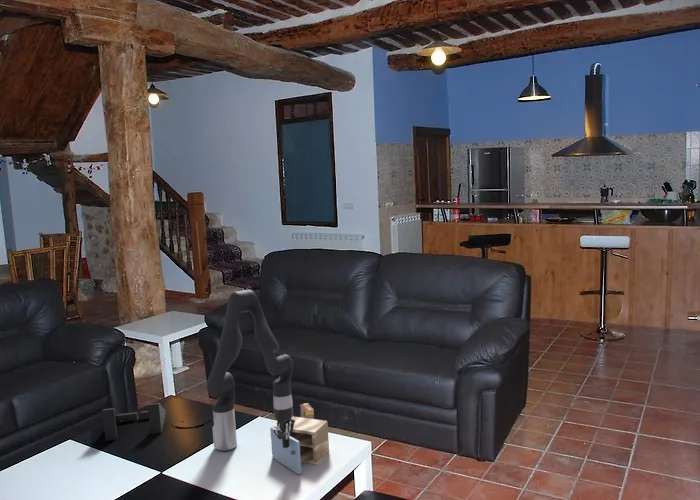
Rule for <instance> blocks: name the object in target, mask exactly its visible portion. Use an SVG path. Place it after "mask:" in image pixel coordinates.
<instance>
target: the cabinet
mask: <svg viewBox="0 0 700 500" xmlns="http://www.w3.org/2000/svg"><path fill="white" fill-rule="evenodd" d="M291 418H292V420H295V423H294V427H293V431H292V434H290V436H291V437H293V438H294V439H296V440H298V441H299V443H300V459H301V463H303V464H304V463H305V464H309V463H310V465H318V464H319V463H320V462H321V461H322V459H324V457H326V455H327V454H328V453H329V452H330V446H329V444H330V442H329V426H328V425H329V424H328V421H327V420H324V419H323V420H322V419H315V418H314V419H309V418H301V416H294V415H293V417H291ZM272 427H274V428H276V429H277V423H275V424H274V425H272ZM319 461H320V462H319Z"/></svg>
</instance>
